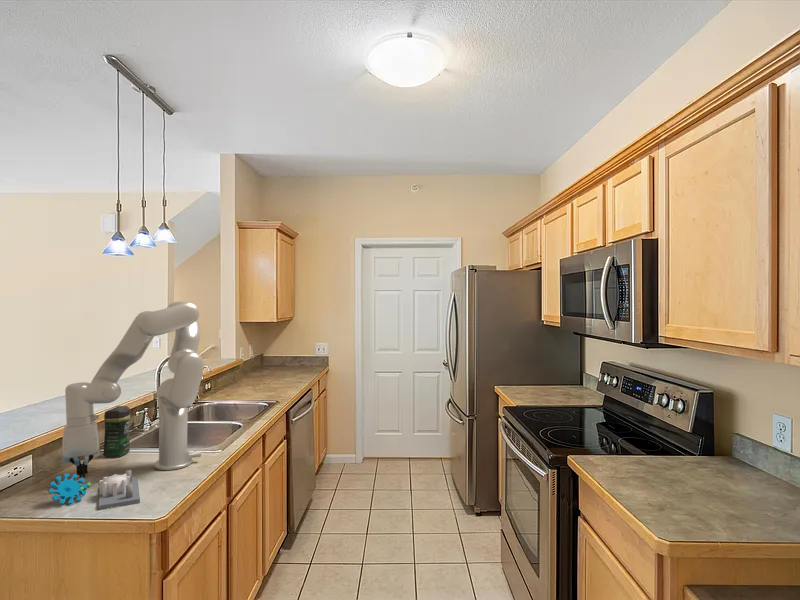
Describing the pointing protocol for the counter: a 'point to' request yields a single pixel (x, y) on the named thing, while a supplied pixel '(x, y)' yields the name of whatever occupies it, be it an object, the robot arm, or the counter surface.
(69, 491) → the gear
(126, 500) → the carrier plate
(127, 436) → the coffee jar
